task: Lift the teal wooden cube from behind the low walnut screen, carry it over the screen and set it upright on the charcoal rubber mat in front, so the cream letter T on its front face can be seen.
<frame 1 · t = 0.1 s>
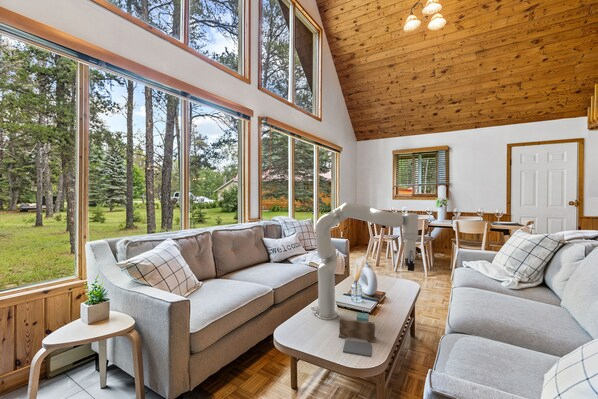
hand: (409, 268, 148), 31 cm above the table, tool pointing down, fingers open, 9 cm apart
screen: (356, 337, 137), on the table
mat: (357, 348, 127), on the table
letter cube: (362, 326, 148), on the table
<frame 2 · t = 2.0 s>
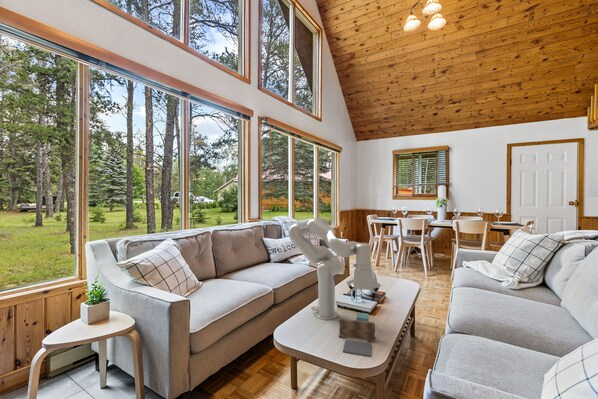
hand: (363, 299, 147), 15 cm above the table, tool pointing down, fingers open, 9 cm apart
nothing on the table moved.
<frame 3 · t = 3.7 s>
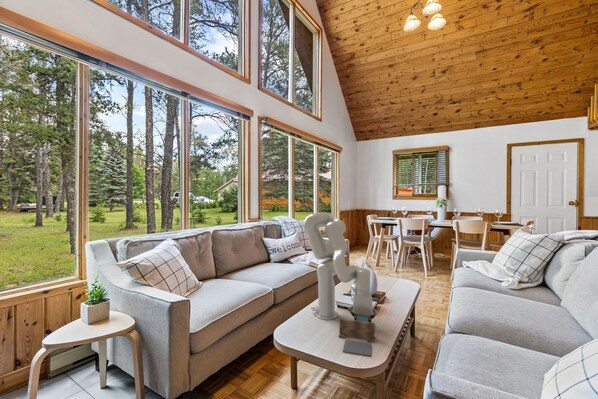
hand: (362, 325, 148), 1 cm above the table, tool pointing down, fingers closed on letter cube, 6 cm apart
letter cube: (362, 326, 148), on the table, touching gripper
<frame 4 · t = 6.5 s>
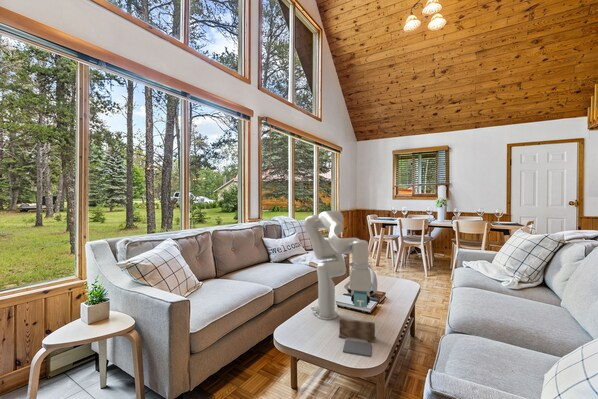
hand: (360, 303, 134), 18 cm above the table, tool pointing down, fingers closed on letter cube, 6 cm apart
letter cube: (360, 304, 134), point 17 cm above the table, touching gripper
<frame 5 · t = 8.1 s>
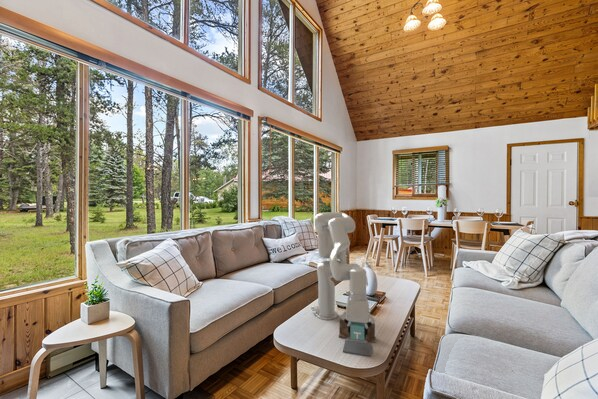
hand: (357, 334, 127), 7 cm above the table, tool pointing down, fingers closed on letter cube, 6 cm apart
letter cube: (357, 335, 127), point 6 cm above the table, touching gripper
when the fingers open (3 cm above the table, at t = 9.3 s): letter cube drops 1 cm, resting on mat.
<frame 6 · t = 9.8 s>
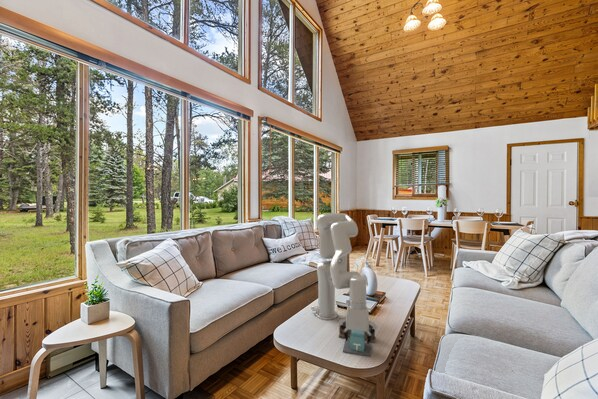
hand: (357, 341, 127), 3 cm above the table, tool pointing down, fingers open, 9 cm apart
letter cube: (357, 347, 127), point 1 cm above the table, touching mat
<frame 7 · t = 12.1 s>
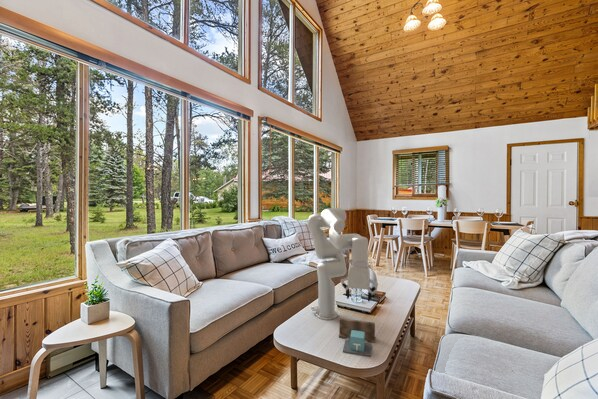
hand: (358, 299, 131), 21 cm above the table, tool pointing down, fingers open, 9 cm apart
nothing on the table moved.
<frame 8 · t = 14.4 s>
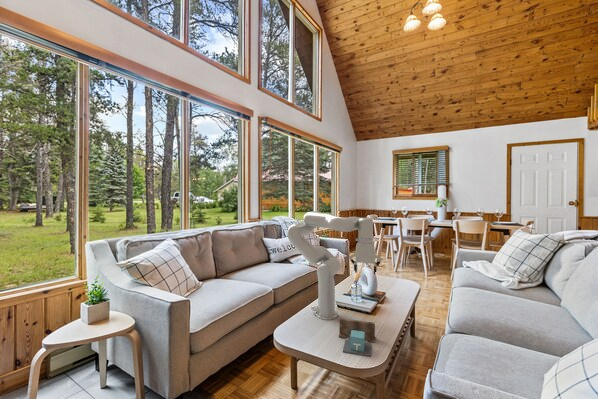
hand: (365, 272, 149), 28 cm above the table, tool pointing down, fingers open, 9 cm apart
nothing on the table moved.
at the end: letter cube inside the target area on the mat (0.0 cm from its centre), point 0.6 cm above the mat's base; letter cube tilted 0°; the gripper is holding nothing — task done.
